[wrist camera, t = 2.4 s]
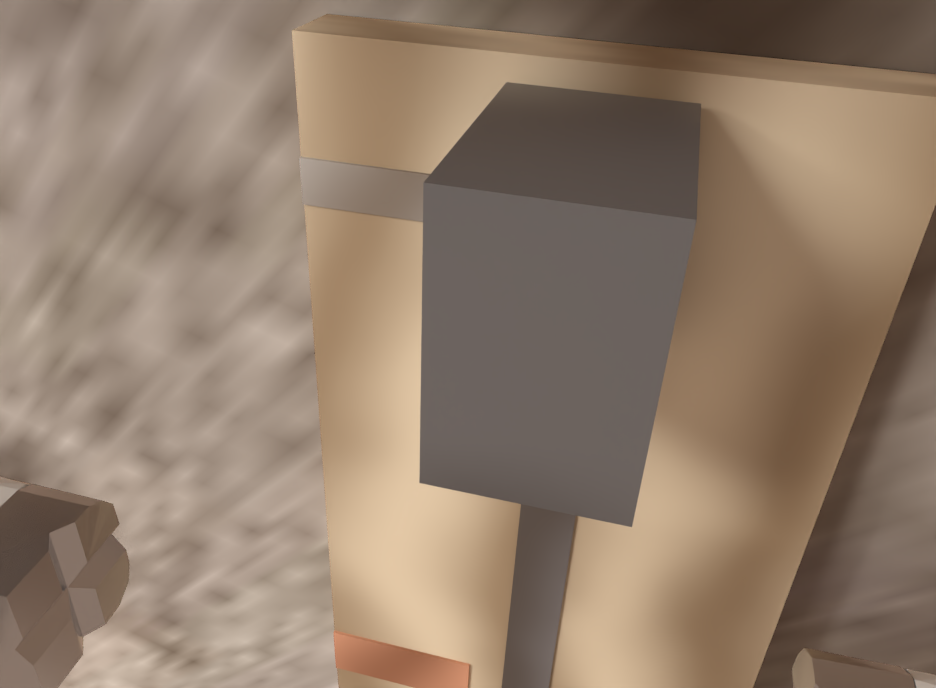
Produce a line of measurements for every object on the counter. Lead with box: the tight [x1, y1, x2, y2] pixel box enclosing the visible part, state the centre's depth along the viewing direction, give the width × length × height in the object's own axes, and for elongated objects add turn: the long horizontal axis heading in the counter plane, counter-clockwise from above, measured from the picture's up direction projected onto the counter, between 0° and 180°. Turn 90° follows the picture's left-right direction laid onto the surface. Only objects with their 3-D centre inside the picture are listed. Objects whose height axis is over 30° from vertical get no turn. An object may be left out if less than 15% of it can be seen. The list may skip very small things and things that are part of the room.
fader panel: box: [292, 14, 936, 688], centre depth 24 cm, size 14×25×2 cm, turn 177°
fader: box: [419, 82, 701, 527], centre depth 16 cm, size 4×6×6 cm, turn 177°
